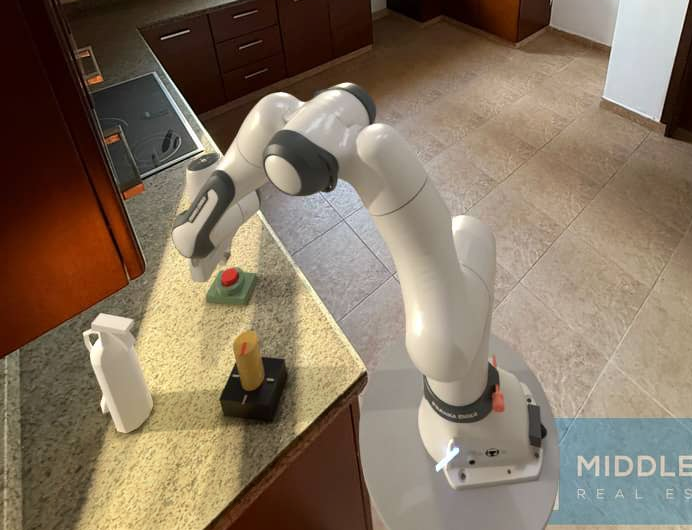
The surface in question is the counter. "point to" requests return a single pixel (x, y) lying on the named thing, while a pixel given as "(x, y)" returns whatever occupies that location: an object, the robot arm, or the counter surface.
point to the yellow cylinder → (248, 360)
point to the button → (229, 277)
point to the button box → (232, 289)
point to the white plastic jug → (119, 372)
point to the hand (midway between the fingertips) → (225, 260)
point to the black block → (255, 393)
